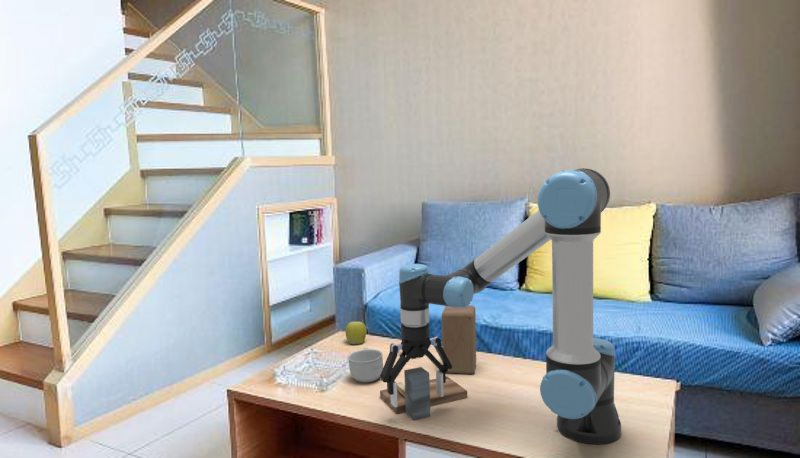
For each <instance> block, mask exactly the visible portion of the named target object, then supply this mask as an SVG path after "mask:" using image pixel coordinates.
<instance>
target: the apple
mask: <svg viewBox="0 0 800 458" xmlns="http://www.w3.org/2000/svg"><path fill="white" fill-rule="evenodd" d="M345 336H346V340H347V342H348V343H349V344H350V345H359V344H363V343H364V342H365V340H366V338H367V337H366V336H367V326H366V325H365V323H364V322H363V321H355V319H353V321H349V323H347V325H346V327H345Z"/></svg>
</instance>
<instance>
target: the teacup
mask: <svg viewBox="0 0 800 458" xmlns="http://www.w3.org/2000/svg"><path fill="white" fill-rule="evenodd" d="M347 360H348V366H349V372H350V376H351V377H352V378H353V379H354V380H355V381H357V382H359V383H365V384H366V383H367V384H368V383H372V382H374V381H376V380H378V379H379V378H380V375H381V372H382V370H383V367H384V361H383V360H384V358H383V352H382V351H381V350H379V349H373V348H372V349H371V348H369V347H364V348H363V349H359V350H356V351H354V352H352V353H350V354H349V355H348V356H347Z"/></svg>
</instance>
